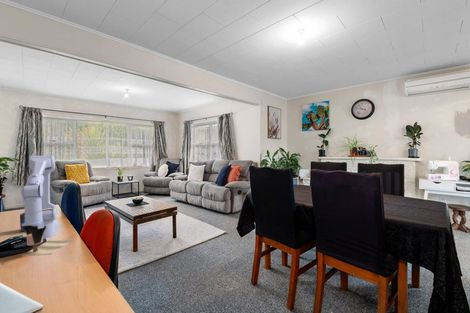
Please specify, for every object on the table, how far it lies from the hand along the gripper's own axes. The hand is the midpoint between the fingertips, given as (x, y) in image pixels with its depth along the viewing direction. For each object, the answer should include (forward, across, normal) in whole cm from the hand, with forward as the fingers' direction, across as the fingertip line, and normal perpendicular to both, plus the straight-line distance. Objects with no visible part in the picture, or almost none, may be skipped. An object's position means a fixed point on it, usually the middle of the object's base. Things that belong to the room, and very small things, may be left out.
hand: (35, 241), depth 99 cm
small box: (+6, -41, +13) cm, 44 cm away
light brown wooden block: (+1, 0, 0) cm, 1 cm away
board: (+6, 0, +5) cm, 8 cm away
